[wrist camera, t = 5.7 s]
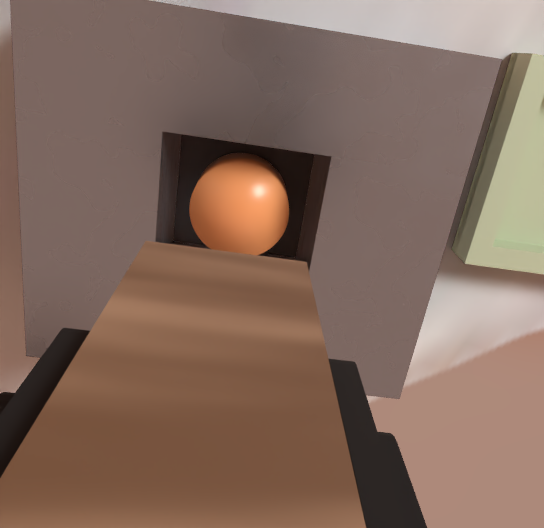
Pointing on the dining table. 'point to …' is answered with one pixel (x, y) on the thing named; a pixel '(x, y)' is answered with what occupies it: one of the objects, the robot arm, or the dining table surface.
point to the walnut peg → (192, 407)
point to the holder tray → (509, 178)
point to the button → (240, 204)
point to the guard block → (249, 130)
